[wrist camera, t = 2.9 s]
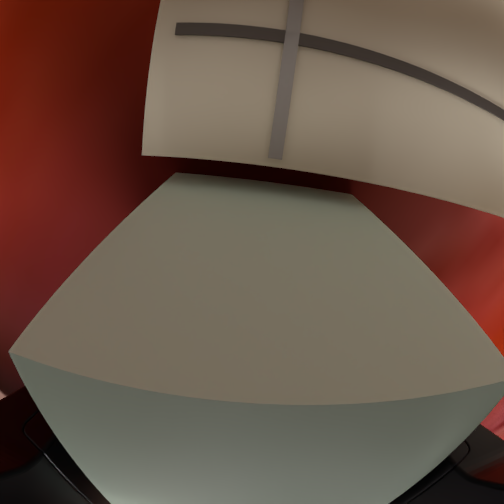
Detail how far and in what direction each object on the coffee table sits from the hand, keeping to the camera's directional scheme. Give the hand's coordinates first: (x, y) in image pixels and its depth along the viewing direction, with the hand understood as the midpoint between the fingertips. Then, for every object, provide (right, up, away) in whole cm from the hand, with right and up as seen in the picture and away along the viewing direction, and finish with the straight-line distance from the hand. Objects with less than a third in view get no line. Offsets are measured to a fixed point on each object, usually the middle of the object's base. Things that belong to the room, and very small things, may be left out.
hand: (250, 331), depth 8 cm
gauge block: (0, 0, +2) cm, 2 cm away
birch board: (+12, +8, -2) cm, 14 cm away
